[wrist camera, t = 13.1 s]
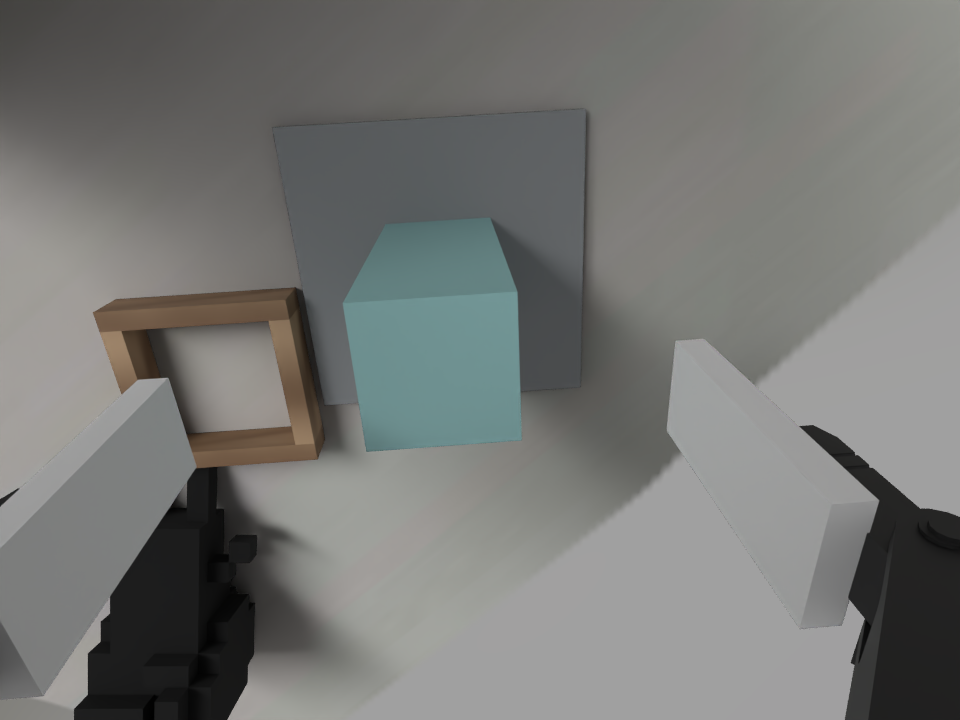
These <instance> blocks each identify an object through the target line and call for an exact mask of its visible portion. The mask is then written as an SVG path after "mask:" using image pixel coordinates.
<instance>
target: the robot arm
mask: <svg viewBox="0 0 960 720" xmlns="http://www.w3.org/2000/svg"><path fill="white" fill-rule="evenodd" d="M667 432H668V433H669V435H670V436H671V438H672V439H673V441H674V442H675V444H676V445H677V447H678V448H679V450H680V451H681V453H682V454H683V456H684V457H685V459H686V460H687V462H688V463H689V465H690V466H691V468H692V469H693V471H694V472H695V474H696V475H697V477H698V478H699V480H700V481H701V483H702V484H703V486H704V487H705V489H706V490H707V491H708V493H709V495H710V496H711V498H712V499H713V501H714V502H715V504H716V505H717V506H718V508H719V510H720V511H721V512H722V514H723V515H724V517H725V519H726V520H727V521H728V523H729V524H730V526H731V527H732V529H733V530H734V532H735V533H736V535H737V536H738V538H739V539H740V541H741V542H742V544H743V545H744V547H745V548H746V550H747V551H748V552H749V554H750V556H751V557H752V559H753V560H754V562H755V563H756V565H757V566H758V568H759V569H760V571H761V572H762V574H763V575H764V577H765V578H766V580H767V581H768V583H769V584H770V586H771V587H772V589H773V590H774V592H775V593H776V595H777V596H778V597H779V599H780V600H781V602H782V604H783V605H784V606H785V608H786V610H787V611H788V612H789V614H790V616H791V617H792V619H793V620H794V621H795V623H796V625H797V626H798V627H799V629H806V628H818V627H829V626H840V625H842V623H843V620H844V617H845V613H846V610H847V606H848V603H849V600H850V601H851V602H852V603H853V604H854V606H855V607H856V608H857V609H858V611H859V612H860V613H861V614H862V615H863V616H864V618H865V620H864V623H863V626H862V629H861V632H860V635H859V639H858V642H857V645H856V648H855V651H854V654H853V657H852V660H851V663H852V664H854V665H855V666H854V671H853V677H852V683H851V688H850V694H849V700H848V705H847V711H846V717H845V720H960V517H958V516H956V515H953V514H950V513H947V512H943V511H938V510H933V509H920V508H919V507H917V506H916V505H915V504H914V503H913V502H912V501H911V500H909V499H908V498H907V497H906V496H905V495H903V494H902V493H901V492H900V491H899V490H898V489H897V488H895V487H894V486H893V485H892V484H891V483H890V482H888V481H887V480H886V479H885V478H884V477H883V476H882V475H880V474H879V473H878V472H877V471H876V470H875V469H873V468H869V464H867V463H866V462H865V461H864V460H863V459H862V458H861V457H860V456H858V455H856V456H855V452H854V451H853V450H851V449H850V448H849V447H848V446H847V445H846V444H844V443H843V442H842V441H841V440H840V439H839V438H837V437H836V436H833V435H832V434H829V433H828V432H826V431H823V430H821V429H820V428H818V427H815V426H814V425H809V426H798V425H797V424H796V423H795V422H794V421H793V420H792V419H790V418H789V417H788V416H787V415H786V414H785V413H784V412H783V411H782V410H781V409H780V408H779V407H777V406H776V405H775V404H774V403H773V402H772V401H771V400H770V399H769V398H768V397H767V396H765V395H764V394H763V393H762V392H761V391H760V390H759V389H758V388H757V387H756V386H755V385H754V384H753V383H752V382H750V381H749V380H748V379H747V378H746V377H745V376H744V375H743V374H742V373H741V372H740V371H739V370H738V369H736V368H735V367H734V366H733V365H732V364H731V363H730V362H729V361H728V360H727V359H726V358H725V357H723V356H722V355H721V354H720V353H719V352H718V351H717V350H716V349H715V348H714V347H713V346H712V345H710V344H709V343H708V342H707V341H706V340H705V339H693V340H679V341H675V350H674V360H673V371H672V381H671V391H670V401H669V411H668V422H667ZM196 467H197V466H196V463H195V460H194V457H193V454H192V451H191V447H190V444H189V441H188V438H187V435H186V432H185V429H184V425H183V422H182V419H181V416H180V413H179V410H178V406H177V403H176V400H175V397H174V394H173V391H172V387H171V384H170V381H169V378H157V379H143V380H137V381H136V382H135V383H134V384H133V385H132V386H131V387H130V388H129V389H127V390H126V391H125V392H124V393H123V394H122V395H121V396H120V397H119V398H118V399H117V400H116V401H114V402H113V403H112V404H111V405H110V406H109V407H108V408H107V409H106V410H105V411H104V412H103V413H101V414H100V415H99V416H98V417H97V418H96V419H95V420H94V421H93V422H92V423H91V424H90V425H88V426H87V427H86V428H85V429H84V430H83V431H82V432H81V433H80V434H79V435H78V436H76V437H75V438H74V439H73V440H72V441H71V442H70V443H69V444H68V445H67V446H66V447H65V448H63V449H62V450H61V451H60V452H59V453H58V454H57V455H56V456H55V457H54V458H53V459H52V460H50V461H49V462H48V463H47V464H46V465H45V466H44V467H43V468H42V469H41V470H40V471H39V472H37V473H36V474H35V475H34V476H33V477H32V478H31V479H30V480H29V481H28V482H27V483H25V484H24V485H23V486H22V487H21V488H20V489H16V490H15V491H13V492H11V493H10V494H8V495H6V496H5V497H3V498H1V499H0V700H4V699H16V698H27V697H39V696H44V694H45V693H46V691H47V690H48V688H49V687H50V685H51V684H52V682H53V681H54V679H55V678H56V676H57V675H58V673H59V672H60V670H61V669H62V667H63V666H64V664H65V663H66V661H67V660H68V658H69V657H70V655H71V654H72V652H73V651H74V649H75V648H76V646H77V645H78V643H79V642H80V640H81V639H82V637H83V636H84V634H85V633H86V631H87V630H88V628H89V627H90V625H91V624H92V623H93V621H94V620H95V618H96V617H97V615H98V614H99V612H100V611H101V609H102V608H103V606H104V605H105V603H106V602H107V600H108V599H109V597H110V596H111V594H112V593H113V591H114V590H115V588H116V587H117V585H118V584H119V582H120V581H121V579H122V578H123V576H124V575H125V573H126V572H127V570H128V569H129V567H130V566H131V564H132V563H133V561H134V560H135V558H136V557H137V555H138V554H139V552H140V551H141V549H142V548H143V546H144V545H145V543H146V542H147V540H148V539H149V537H150V536H151V534H152V533H153V531H154V530H155V528H156V527H157V525H158V524H159V522H160V521H161V519H162V518H163V516H164V515H165V513H166V512H167V511H168V509H169V508H170V506H171V505H172V503H173V502H174V500H175V499H176V497H177V496H178V494H179V493H180V491H181V490H182V488H183V487H184V485H185V484H186V482H187V481H188V479H189V478H190V476H191V475H192V473H193V472H194V470H195V469H196Z"/></svg>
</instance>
